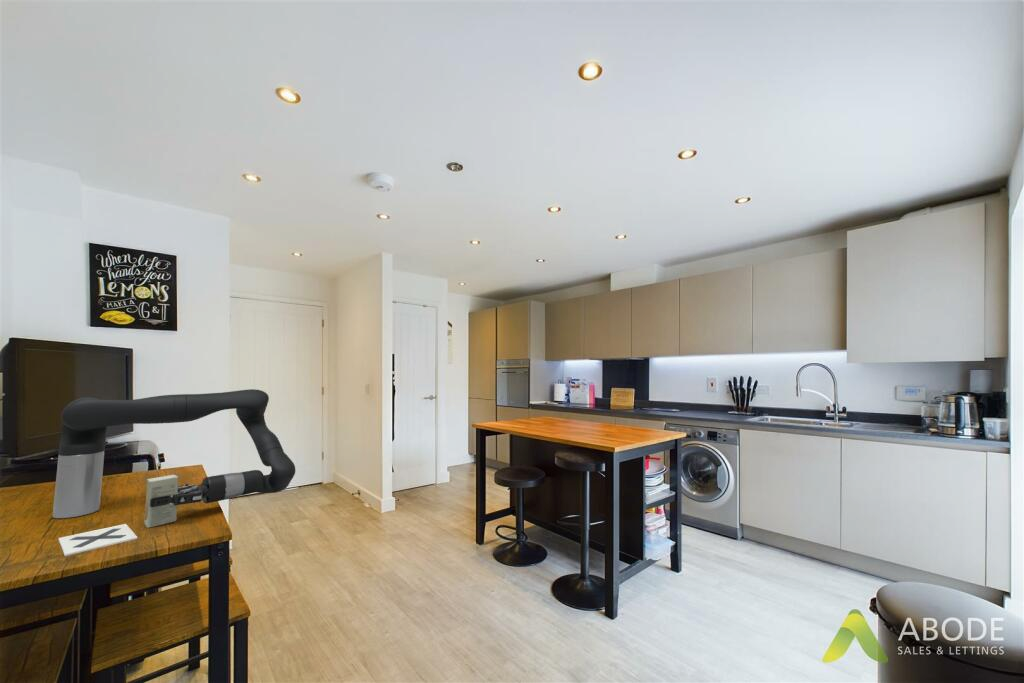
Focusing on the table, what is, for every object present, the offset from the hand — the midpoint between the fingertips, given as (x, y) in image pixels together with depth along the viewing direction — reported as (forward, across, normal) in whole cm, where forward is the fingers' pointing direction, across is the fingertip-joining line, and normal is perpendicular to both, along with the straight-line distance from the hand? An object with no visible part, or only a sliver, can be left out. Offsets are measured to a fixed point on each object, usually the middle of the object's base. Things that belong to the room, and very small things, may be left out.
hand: (148, 501), depth 107 cm
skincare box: (-3, 0, +7) cm, 7 cm away
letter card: (+9, +2, +6) cm, 12 cm away
